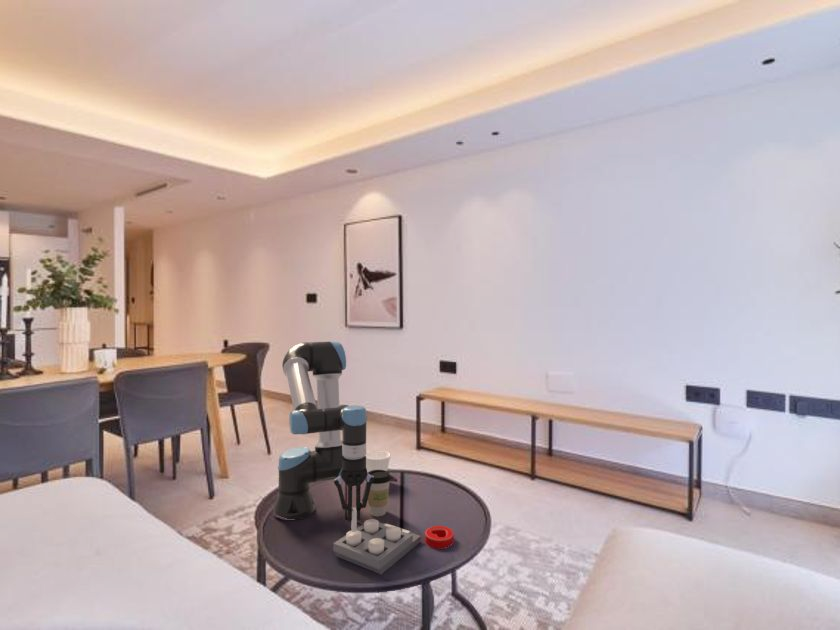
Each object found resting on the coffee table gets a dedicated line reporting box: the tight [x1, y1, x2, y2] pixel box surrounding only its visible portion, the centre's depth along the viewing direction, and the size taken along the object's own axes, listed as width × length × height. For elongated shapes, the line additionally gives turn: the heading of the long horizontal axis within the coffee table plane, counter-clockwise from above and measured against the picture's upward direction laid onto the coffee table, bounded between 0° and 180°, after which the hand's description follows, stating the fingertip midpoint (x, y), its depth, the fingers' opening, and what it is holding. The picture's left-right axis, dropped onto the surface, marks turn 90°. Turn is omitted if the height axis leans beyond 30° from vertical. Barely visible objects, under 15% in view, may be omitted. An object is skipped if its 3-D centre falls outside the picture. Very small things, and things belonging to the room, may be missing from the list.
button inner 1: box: [345, 530, 361, 547], centre depth 145 cm, size 5×5×3 cm
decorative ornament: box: [424, 525, 455, 550], centre depth 154 cm, size 10×10×3 cm
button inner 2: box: [363, 518, 380, 535], centre depth 153 cm, size 5×5×3 cm
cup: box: [365, 450, 391, 472], centre depth 204 cm, size 12×12×12 cm
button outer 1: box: [368, 538, 384, 556], centre depth 140 cm, size 5×5×3 cm
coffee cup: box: [364, 470, 392, 517], centre depth 175 cm, size 10×10×15 cm
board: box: [332, 521, 422, 575], centre depth 149 cm, size 18×23×4 cm
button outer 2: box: [386, 525, 401, 543], centre depth 148 cm, size 5×5×3 cm
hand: (353, 529), depth 145 cm, fingers closed
